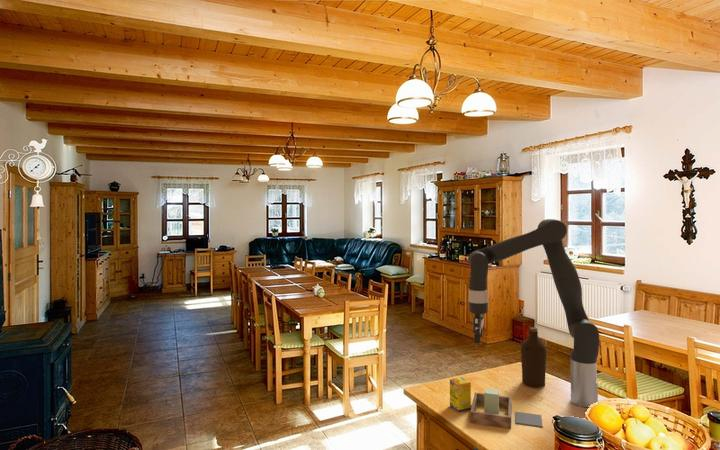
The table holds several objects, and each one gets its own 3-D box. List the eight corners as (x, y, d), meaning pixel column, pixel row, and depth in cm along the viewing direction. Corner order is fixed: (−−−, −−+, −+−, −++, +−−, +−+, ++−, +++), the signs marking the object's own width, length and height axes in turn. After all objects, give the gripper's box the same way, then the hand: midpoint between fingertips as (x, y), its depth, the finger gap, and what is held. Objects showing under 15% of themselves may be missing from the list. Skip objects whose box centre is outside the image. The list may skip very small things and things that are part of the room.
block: (498, 412, 166) (498, 389, 165) (498, 418, 161) (498, 394, 161) (485, 410, 167) (485, 387, 167) (484, 416, 163) (484, 392, 162)
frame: (511, 407, 170) (511, 396, 170) (511, 428, 153) (511, 417, 153) (474, 402, 175) (474, 392, 175) (470, 422, 158) (470, 411, 158)
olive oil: (547, 390, 186) (547, 332, 185) (520, 386, 190) (520, 330, 189) (546, 381, 196) (546, 326, 195) (521, 378, 199) (521, 324, 199)
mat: (541, 416, 162) (541, 415, 162) (542, 427, 154) (542, 426, 154) (515, 412, 166) (515, 411, 166) (515, 423, 157) (515, 422, 157)
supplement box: (449, 406, 172) (449, 378, 171) (462, 403, 174) (461, 376, 174) (458, 412, 166) (458, 384, 166) (471, 409, 169) (471, 381, 168)
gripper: (486, 304, 168) (486, 346, 169) (489, 297, 181) (489, 336, 182) (466, 303, 171) (466, 344, 171) (471, 296, 184) (471, 334, 185)
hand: (478, 340), depth 177 cm, fingers open, 8 cm apart
